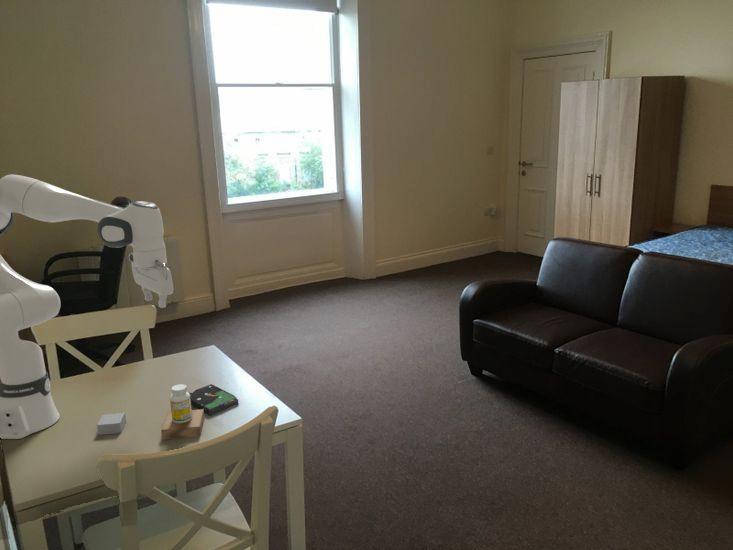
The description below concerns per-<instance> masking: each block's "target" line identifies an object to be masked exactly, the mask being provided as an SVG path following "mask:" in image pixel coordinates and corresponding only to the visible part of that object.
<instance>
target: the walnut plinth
mask: <svg viewBox="0 0 733 550" xmlns="http://www.w3.org/2000/svg"><path fill="white" fill-rule="evenodd" d="M204 422H205V413H204V409H200V410H198V409H192V419H191V420H190V421H188V422H186V423H175V422H174V421H173V420H172V412H171V411H168V412H167V413H166V415H165V419H164V422H163V423H162V424H163V425H162V427H161V439H162V441H163V440H165V441H166V440H175V439H184V438H187V437H188V438H196V437H197V438H198V437H201V436H202V433H203V432H202V431H203V427H204V424H205V423H204ZM201 432H202V433H201Z"/></svg>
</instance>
